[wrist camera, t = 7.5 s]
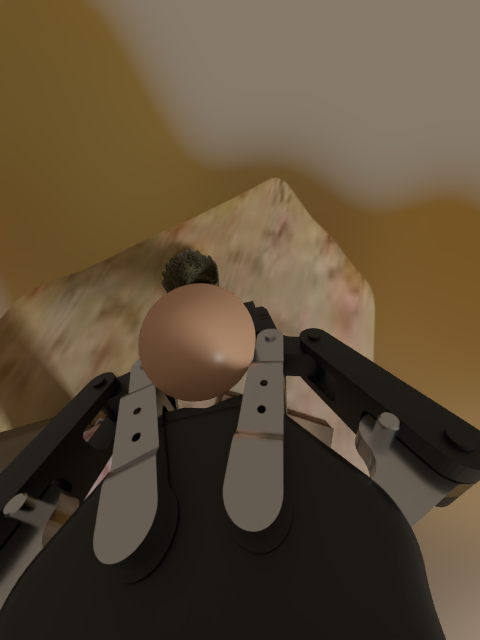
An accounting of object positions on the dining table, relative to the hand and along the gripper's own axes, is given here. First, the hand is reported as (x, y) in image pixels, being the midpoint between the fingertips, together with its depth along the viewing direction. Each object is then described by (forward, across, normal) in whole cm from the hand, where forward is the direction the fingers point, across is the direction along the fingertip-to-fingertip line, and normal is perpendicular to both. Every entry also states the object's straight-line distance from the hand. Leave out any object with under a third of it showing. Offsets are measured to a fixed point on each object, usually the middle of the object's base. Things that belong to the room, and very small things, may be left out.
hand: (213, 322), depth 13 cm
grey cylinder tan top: (+2, 0, +4) cm, 5 cm away
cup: (+20, +3, +6) cm, 21 cm away
